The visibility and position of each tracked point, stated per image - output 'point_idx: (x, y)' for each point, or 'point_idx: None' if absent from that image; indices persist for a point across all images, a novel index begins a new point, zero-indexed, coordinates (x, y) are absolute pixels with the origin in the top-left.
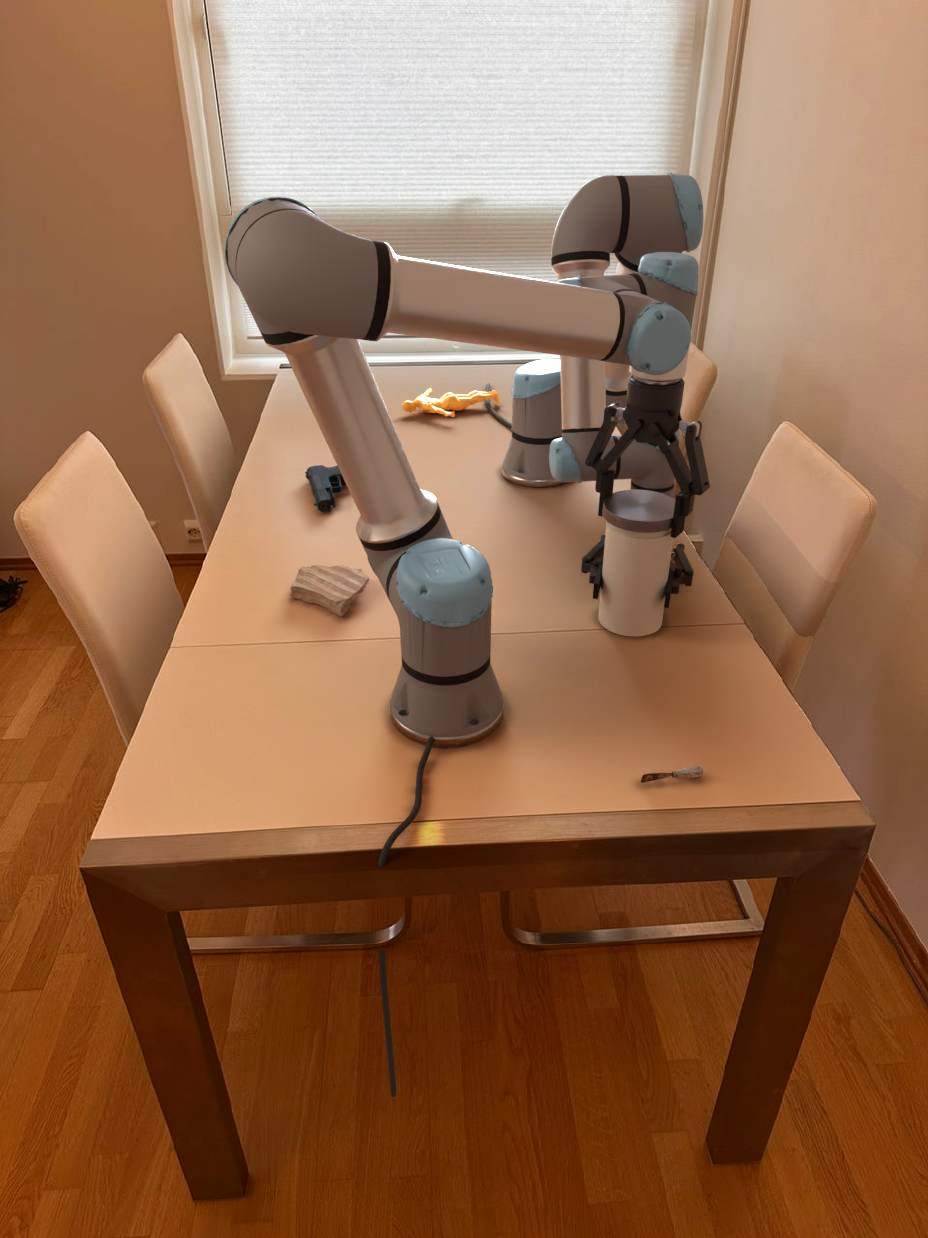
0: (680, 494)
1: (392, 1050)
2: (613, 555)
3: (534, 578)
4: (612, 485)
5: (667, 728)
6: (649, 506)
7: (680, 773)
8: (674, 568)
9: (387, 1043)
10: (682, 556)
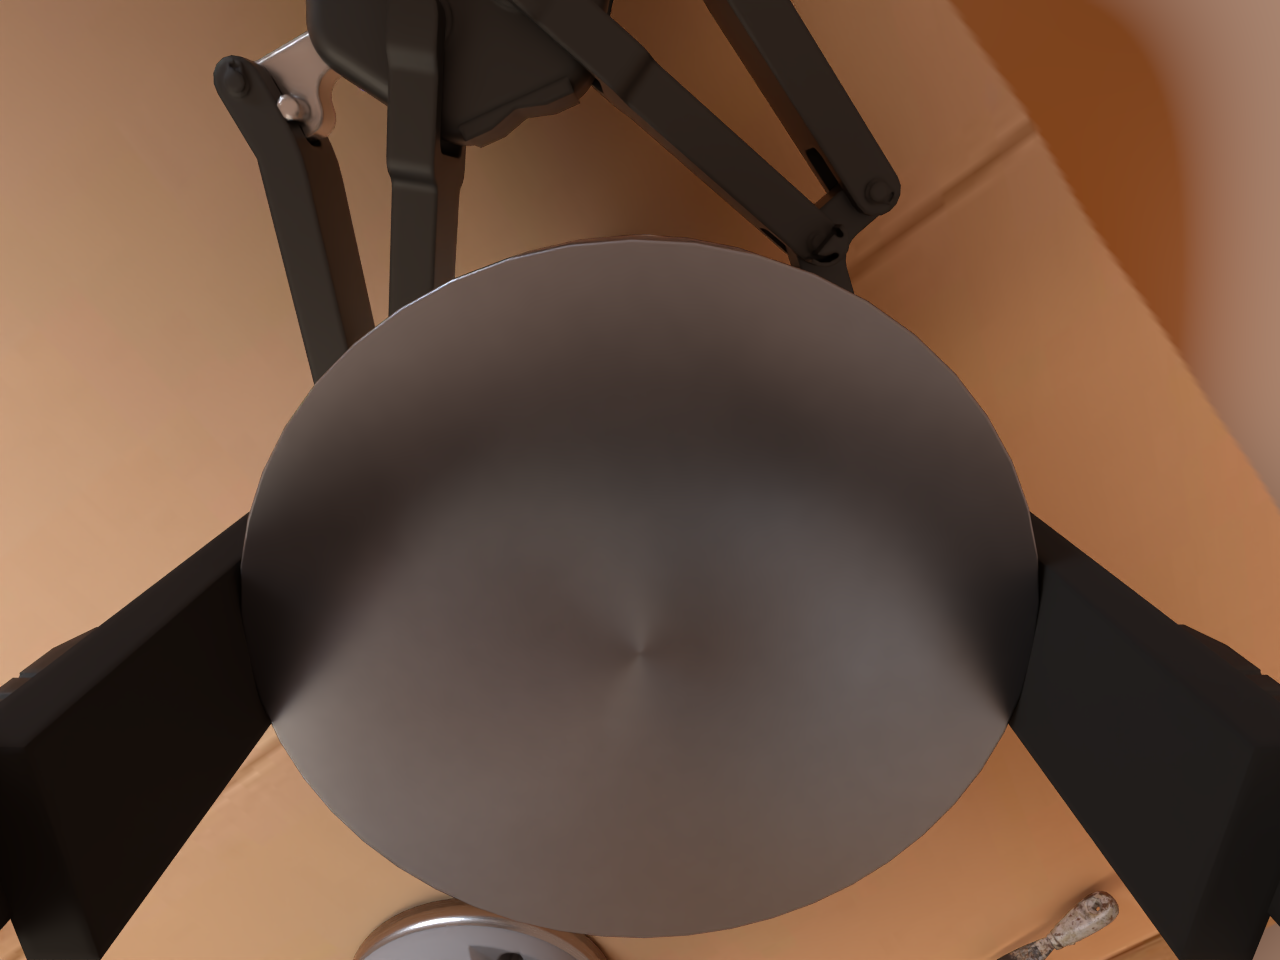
0: (1234, 924)
1: None
2: None
3: (142, 307)
4: (180, 641)
5: (978, 791)
6: (719, 644)
7: (1073, 943)
8: (790, 218)
9: None
10: (775, 29)
